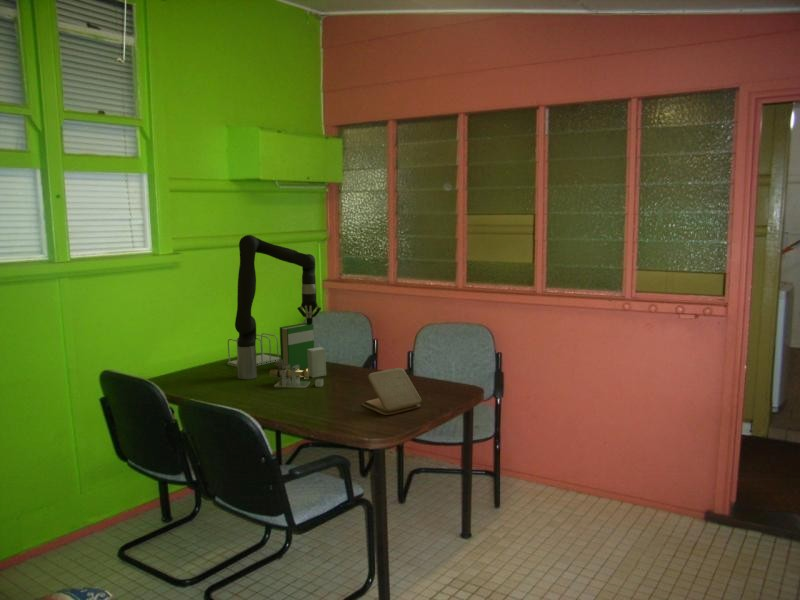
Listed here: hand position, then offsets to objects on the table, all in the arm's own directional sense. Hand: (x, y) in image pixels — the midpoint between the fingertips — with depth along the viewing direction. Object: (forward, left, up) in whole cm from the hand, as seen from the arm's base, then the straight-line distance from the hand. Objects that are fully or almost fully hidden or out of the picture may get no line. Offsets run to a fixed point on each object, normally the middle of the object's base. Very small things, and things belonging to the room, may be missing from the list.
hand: (309, 324), depth 344 cm
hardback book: (-12, +15, -28) cm, 33 cm away
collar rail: (-1, -20, -27) cm, 34 cm away
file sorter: (-41, +25, -28) cm, 55 cm away
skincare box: (+3, -1, -28) cm, 28 cm away
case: (+50, -51, -28) cm, 77 cm away
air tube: (-6, -20, -24) cm, 32 cm away
